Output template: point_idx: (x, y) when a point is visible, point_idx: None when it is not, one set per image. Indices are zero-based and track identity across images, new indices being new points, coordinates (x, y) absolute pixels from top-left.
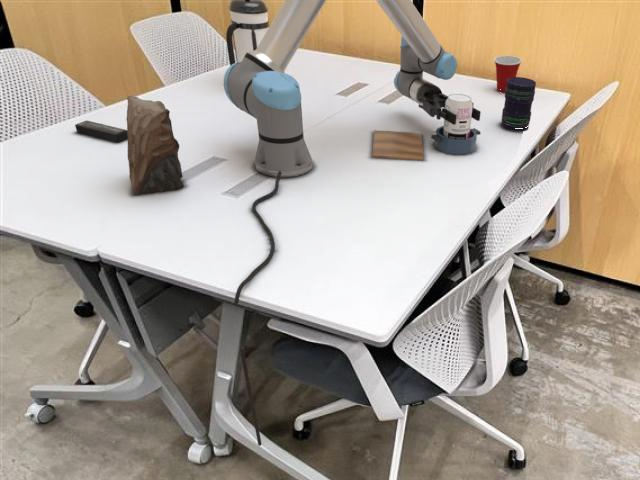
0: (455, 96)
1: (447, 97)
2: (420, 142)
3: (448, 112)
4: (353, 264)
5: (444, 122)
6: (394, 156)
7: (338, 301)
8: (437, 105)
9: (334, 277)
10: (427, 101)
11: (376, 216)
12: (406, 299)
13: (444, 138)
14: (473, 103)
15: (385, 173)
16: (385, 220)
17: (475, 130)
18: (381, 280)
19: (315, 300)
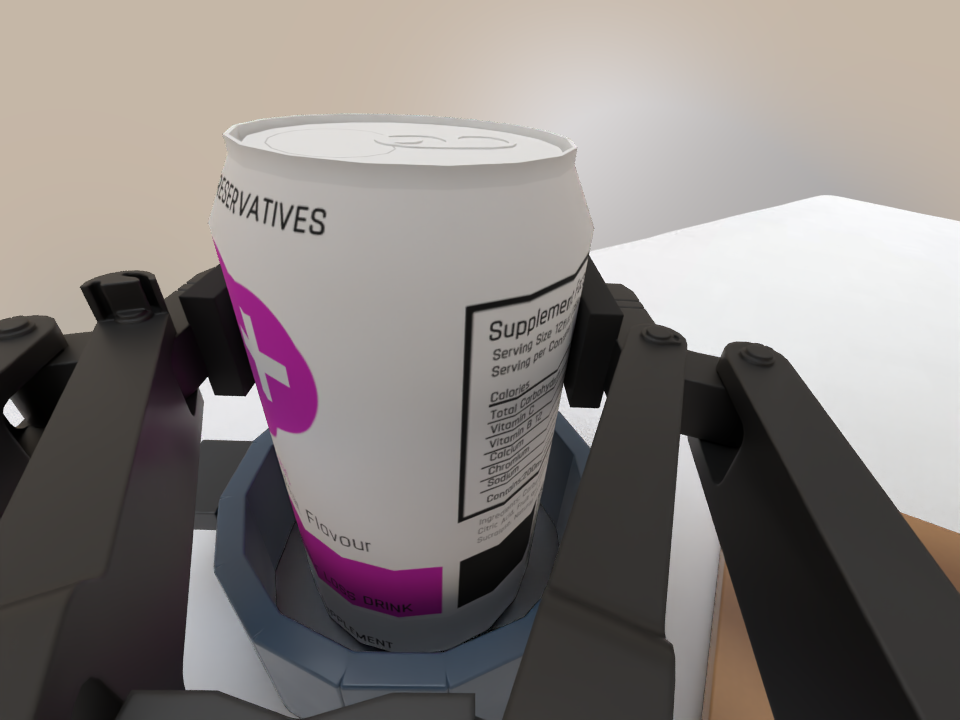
0: (412, 158)
1: (41, 679)
2: (727, 704)
3: (590, 261)
4: (904, 237)
5: (549, 442)
6: (953, 531)
7: (902, 216)
8: (654, 410)
9: (928, 232)
10: (922, 717)
11: (897, 286)
12: (801, 202)
13: (578, 438)
14: (19, 317)
15: (946, 427)
16: (867, 274)
17: (210, 470)
18: (844, 218)
19: (940, 222)
